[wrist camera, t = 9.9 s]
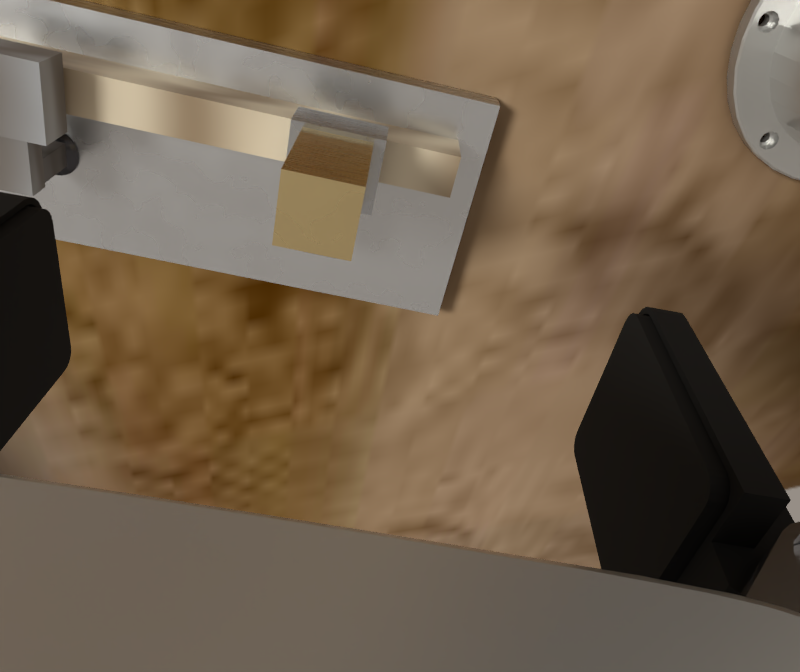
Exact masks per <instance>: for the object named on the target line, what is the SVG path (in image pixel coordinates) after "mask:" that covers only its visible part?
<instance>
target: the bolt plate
mask: <svg viewBox="0 0 800 672" xmlns="http://www.w3.org/2000/svg"><path fill="white" fill-rule="evenodd" d="M0 36H3V37H7V38H12V39H16V40H20V41H25V42H29V43H34V44H38V45H42V46H47V47H51V48H56V49H60V50H64V51H69V52H73V53H78V54H82V55H86V56H91V57H95V58H99V59H104V60H108V61H113V62H117V63H121V64H126V65H130V66H135V67H139V68H143V69H148V70H152V71H157V72H161V73H165V74H170V75H174V76H178V77H183V78H187V79H192V80H196V81H200V82H205V83H209V84H214V85H218V86H222V87H227V88H231V89H235V90H240V91H244V92H249V93H253V94H257V95H262V96H266V97H271V98H275V99H279V100H284V101H288V102H293V103H297V104H301V105H306V106H310V107H314V108H319V109H323V110H328V111H332V112H336V113H341V114H345V115H350V116H354V117H358V118H363V119H367V120H372V121H376V122H380V123H385V124H389V125H393V126H398V127H402V128H407V129H411V130H415V131H420V132H424V133H429V134H433V135H437V136H442V137H446V138H450V139H455V140H458V141H459V147H460V153H461V160H460V163H459V167H458V171H457V174H456V178H455V181H454V185H453V189H452V192H451V196H450V198H448V197H444V196H439V195H435V194H430V193H426V192H421V191H416V190H412V189H407V188H403V187H398V186H393V185H389V184H384V183H380V182H378V186H377V191H376V195H375V200H374V205H373V210H372V215H367V214H362V213H361V214H360V219H359V224H358V229H357V235H356V240H355V245H354V250H353V255H352V260H351V261H347V260H342V259H337V258H336V259H335V258H330V257H325V256H320V255H315V254H310V253H306V252H303V251H298V250H293V249H288V248H283V247H278V246H274V245H272V241H273V232H274V224H275V216H276V207H277V199H278V190H279V182H280V174H281V168H282V166H283V164H284V161H279V160H275V159H270V158H265V157H261V156H256V155H252V154H247V153H243V152H238V151H233V150H229V149H224V148H220V147H215V146H210V145H206V144H201V143H197V142H192V141H188V140H183V139H178V138H174V137H169V136H165V135H160V134H156V133H151V132H146V131H142V130H137V129H133V128H128V127H124V126H119V125H114V124H110V123H105V122H101V121H96V120H92V119H87V118H82V117H78V116H73V115H69V114H66V117H67V133H65V134H64V135H62V136H61V137H59V138H58V139H56V140H55V141H57V142H62V143H65V147H66V161H67V167H65V168H64V169H63V170H61V171H60V172H59V173H57V174H56V175H55V176H53V177H52V178H51V179H50V180H48V181H47V182H46V183H45V188H43V189H42V190H41V191H39V192H38V193H37V194H36V195H34V196H28V195H23V194H18V193H13V192H8V191H4V190H0V192H4V193H9V194H15V195H21V196H26V197H32V198H35V199H36V200H38V201H39V203H40V205H41V207H42V209H47V210H48V211H49V212H50V214H51V216H52V220H53V226H54V233H55V239H57V240H62V241H67V242H72V243H77V244H82V245H87V246H92V247H97V248H102V249H107V250H112V251H117V252H122V253H127V254H132V255H137V256H142V257H147V258H152V259H157V260H162V261H167V262H172V263H177V264H182V265H187V266H192V267H197V268H202V269H207V270H212V271H217V272H222V273H227V274H232V275H237V276H242V277H247V278H252V279H257V280H262V281H267V282H272V283H277V284H282V285H287V286H292V287H297V288H302V289H307V290H312V291H317V292H322V293H327V294H332V295H337V296H342V297H347V298H352V299H358V300H363V301H368V302H373V303H378V304H383V305H388V306H393V307H398V308H403V309H408V310H413V311H418V312H423V313H428V314H433V315H438V314H439V310H440V307H441V304H442V300H443V297H444V294H445V290H446V287H447V284H448V280H449V277H450V273H451V270H452V267H453V263H454V260H455V257H456V253H457V250H458V247H459V243H460V240H461V236H462V233H463V230H464V226H465V223H466V220H467V216H468V213H469V210H470V206H471V203H472V200H473V196H474V193H475V189H476V186H477V183H478V179H479V176H480V173H481V169H482V166H483V163H484V159H485V156H486V152H487V149H488V146H489V142H490V139H491V136H492V132H493V129H494V126H495V122H496V119H497V116H498V112H499V109H500V104H499V102H498V99H497V98H495V97H490V96H486V95H482V94H478V93H474V92H469V91H465V90H461V89H457V88H452V87H448V86H444V85H440V84H435V83H431V82H427V81H423V80H418V79H414V78H410V77H406V76H402V75H397V74H393V73H389V72H385V71H380V70H376V69H372V68H368V67H363V66H359V65H355V64H351V63H346V62H342V61H338V60H334V59H329V58H325V57H321V56H317V55H313V54H308V53H304V52H300V51H296V50H291V49H287V48H283V47H279V46H274V45H270V44H266V43H262V42H257V41H253V40H249V39H245V38H240V37H236V36H232V35H228V34H224V33H219V32H215V31H211V30H207V29H202V28H198V27H194V26H190V25H185V24H181V23H177V22H173V21H168V20H164V19H160V18H156V17H151V16H147V15H143V14H139V13H135V12H130V11H126V10H122V9H118V8H113V7H109V6H105V5H101V4H96V3H92V2H88V1H84V0H0Z"/></svg>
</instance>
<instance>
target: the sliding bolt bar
mask: <svg viewBox="0 0 800 672" xmlns="http://www.w3.org/2000/svg"><path fill="white" fill-rule="evenodd" d="M298 107H303V108H308V109H312V110H317V111H321V112H325V113H330V114H334V115H339V116H343V117H347V118H352V119H356V120H361V121H365V122H369V123H374V124H378V125H383V126H387V127H389V129H388V136H387V143H386V147H385V152H384V157H383V162H382V167H381V171H380V176H379V181H378V182H380V183H384V184H389V185H393V186H398V187H403V188H407V189H412V190H416V191H421V192H426V193H430V194H435V195H439V196H444V197H448V198H450V196H451V192H452V189H453V185H454V181H455V178H456V174H457V171H458V167H459V163H460V160H461V153H460V147H459V141H458V140H455V139H450V138H446V137H442V136H437V135H433V134H429V133H424V132H420V131H415V130H411V129H407V128H402V127H398V126H393V125H389V124H385V123H380V122H376V121H372V120H367V119H363V118H358V117H354V116H350V115H345V114H341V113H336V112H332V111H328V110H323V109H319V108H314V107H310V106H306V105H301V104H297V103H293V102H288V101H284V100H279V99H275V98H271V97H266V96H262V95H257V94H253V93H249V92H244V91H240V90H235V89H231V88H227V87H222V86H218V85H214V84H209V83H205V82H200V81H196V80H192V79H187V78H183V77H178V76H174V75H170V74H165V73H161V72H157V71H152V70H148V69H143V68H139V67H135V66H130V65H126V64H121V63H117V62H113V61H108V60H104V59H99V58H95V57H91V56H86V55H82V54H78V53H73V52H69V51H64V50H60V49H56V48H51V47H47V46H42V45H38V44H34V43H29V42H25V41H20V40H16V39H12V38H7V37H3V36H0V190H4V191H8V192H13V193H18V194H23V195H28V196H34V195H36V194H37V193H38V192H39V191H41V190H42V189H43V188H45V183H46V182H47V181H48V180H50V179H51V178H52V177H53V176H55V175H56V174H57V173H59V172H60V171H61V170H63V169H64V168H65V167H67V161H66V147H65V143H62V142H57V141H55V140H56V139H58V138H59V137H61V136H62V135H64V134H65V133H67V117H66V114H69V115H73V116H78V117H82V118H87V119H92V120H96V121H101V122H105V123H110V124H114V125H119V126H124V127H128V128H133V129H137V130H142V131H146V132H151V133H156V134H160V135H165V136H169V137H174V138H178V139H183V140H188V141H192V142H197V143H201V144H206V145H210V146H215V147H220V148H224V149H229V150H233V151H238V152H243V153H247V154H252V155H256V156H261V157H265V158H270V159H275V160H279V161H284V162H285V160H286V157H287V148H288V140H289V132H290V124H291V119H292V117H293V115H294V113H295V112H296V110H297V108H298Z"/></svg>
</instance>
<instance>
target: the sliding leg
mask: <svg viewBox="0 0 800 672" xmlns="http://www.w3.org/2000/svg"><path fill="white" fill-rule="evenodd" d="M388 129H389V127H387V126H383V125H378V124H374V123H369V122H365V121H361V120H356V119H352V118H347V117H343V116H339V115H334V114H330V113H325V112H321V111H317V110H312V109H308V108H303V107H298V108H297V110H296V112H295V113H294V115H293V117H292V119H291V124H290V132H289V140H288V148H287V157H286V160H285V162H284V164H283V166H282V168H281V174H280V182H279V190H278V199H277V207H276V216H275V224H274V232H273V241H272V245H274V246H278V247H283V248H288V249H293V250H298V251H303V252H306V253H310V254H315V255H320V256H325V257H330V258H335V259H336V258H337V259H342V260H347V261H351V260H352V255H353V250H354V245H355V240H356V235H357V229H358V224H359V219H360V214H361V213H362V214H367V215H372V210H373V205H374V200H375V195H376V191H377V186H378V181H379V176H380V171H381V167H382V162H383V157H384V152H385V147H386V143H387V136H388Z"/></svg>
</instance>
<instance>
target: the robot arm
mask: <svg viewBox="0 0 800 672" xmlns="http://www.w3.org/2000/svg"><path fill="white" fill-rule="evenodd" d="M763 14H765V19H764V21H763V22H762V23H761V24H759V25H758V22H759V19H760V18H761V16H762V15H763ZM727 96H728V105H729V109H730V112H731V116H732V120H733V124H734V126H735V128H736V129H737V131H738V133H739V135H740V137H741V139H742V141H743V142H744V144H745V145H746V146H747V147H748V148H749V149H750V150H751V151H752V152H753V153H754V154H755V156H756V157H757V158H759V159H760V160H761V161H763V162H764V163H766V164H767V165H768V166H769V167H771V168H772V169H773V170H776V171H778V172H780V173H782V174H784V175H786V176H788V177H790V178H792V179H796V180H800V0H751V2H750V4H749V6H748V8H747V10H746V12H745V13H744V15H743V17H742V19H741V21H740V24H739V27H738V30H737V33H736V36H735V39H734V42H733V45H732V48H731V52H730V59H729V65H728V72H727ZM764 134H766V135H765V137H764V138H762V136H763V135H764ZM761 138H762V139H761ZM760 139H761V140H760ZM70 356H71V345H70V338H69V331H68V324H67V317H66V310H65V303H64V296H63V289H62V282H61V275H60V268H59V261H58V254H57V247H56V240H55V233H54V226H53V220H52V216H51V214H50V212H49V211H48V210H47V209H42V207H41V205H40V203H39V201H38V200H36V199H35V198H32V197H26V196H21V195H15V194H9V193H4V192H0V451H1V449H2V448H3V447H4V446H5V444H6V443H7V442H8V441H9V439H10V438H11V437H12V436H13V434H14V433H15V432H16V431H17V429H18V428H19V427H20V426H21V424H22V423H23V422H24V421H25V419H26V418H27V417H28V416H29V414H30V413H31V412H32V411H33V409H34V408H35V407H36V406H37V404H38V403H39V402H40V401H41V399H42V398H43V397H44V396H45V395H46V393H47V392H48V391H49V390H50V388H51V387H52V386H53V385H54V383H55V382H56V381H57V380H58V378H59V377H60V376H61V375H62V373H63V372H64V371H65V369H66V368H67V366H68V363H69V360H70ZM574 453H575V458H576V462H577V467H578V471H579V475H580V479H581V484H582V488H583V492H584V496H585V501H586V505H587V509H588V513H589V518H590V522H591V526H592V531H593V535H594V539H595V543H596V548H597V552H598V556H599V560H600V565H601V569H597V568H591V567H585V566H579V565H573V564H567V563H561V562H555V561H549V560H543V559H537V558H531V557H525V556H518V555H512V554H506V553H500V552H494V551H488V550H482V549H475V548H469V547H463V546H457V545H451V544H445V543H439V542H433V541H426V540H420V539H414V538H408V537H402V536H396V535H390V534H384V533H377V532H371V531H365V530H359V529H352V528H346V527H340V526H333V525H327V524H321V523H314V522H308V521H302V520H296V519H289V518H283V517H277V516H270V515H264V514H258V513H251V512H245V511H238V510H232V509H226V508H219V507H213V506H207V505H200V504H194V503H187V502H181V501H175V500H168V499H162V498H155V497H149V496H143V495H136V494H129V493H123V492H116V491H110V490H103V489H97V488H90V487H83V486H77V485H70V484H64V483H57V482H50V481H44V480H37V479H31V478H24V477H18V476H11V475H4V474H0V672H800V522H797V523H795V522H794V521H793V519H792V517H791V515H790V514H789V512H788V510H787V508H786V506H787V504H788V503H789V502H790V498H789V496H788V495H787V493H786V491H785V490H784V488H783V486H782V484H781V483H780V481H779V479H778V477H777V476H776V474H775V472H774V470H773V469H772V467H771V465H770V463H769V462H768V460H767V458H766V457H765V455H764V453H763V451H762V450H761V448H760V446H759V444H758V443H757V441H756V439H755V437H754V436H753V434H752V432H751V430H750V429H749V427H748V425H747V424H746V422H745V420H744V418H743V417H742V415H741V413H740V411H739V410H738V408H737V406H736V404H735V403H734V401H733V399H732V397H731V396H730V394H729V392H728V391H727V389H726V387H725V385H724V384H723V382H722V380H721V378H720V377H719V375H718V373H717V371H716V370H715V368H714V366H713V364H712V363H711V361H710V359H709V358H708V356H707V354H706V352H705V351H704V349H703V347H702V345H701V344H700V342H699V340H698V338H697V337H696V335H695V333H694V331H693V330H692V328H691V326H690V325H689V323H688V321H687V319H686V318H685V316H684V315H683V314H682V313H678V312H673V311H667V310H662V309H656V308H650V307H645V308H643V309H642V310H641V312H640V313H639V314H634V313H632V314H630V315H629V317H628V318H627V320H626V322H625V324H624V326H623V328H622V331H621V333H620V335H619V338H618V340H617V342H616V344H615V347H614V349H613V351H612V354H611V356H610V358H609V360H608V363H607V365H606V367H605V370H604V372H603V374H602V376H601V379H600V381H599V383H598V386H597V388H596V390H595V392H594V395H593V397H592V399H591V402H590V404H589V406H588V408H587V411H586V413H585V415H584V418H583V420H582V422H581V424H580V427H579V429H578V431H577V434H576V438H575V444H574Z"/></svg>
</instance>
